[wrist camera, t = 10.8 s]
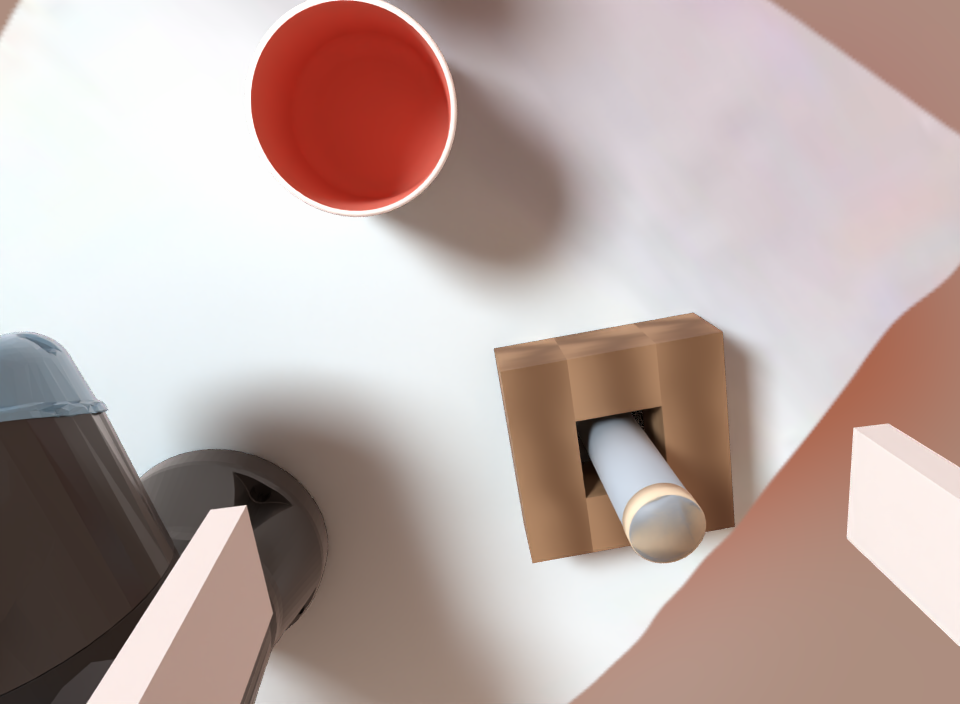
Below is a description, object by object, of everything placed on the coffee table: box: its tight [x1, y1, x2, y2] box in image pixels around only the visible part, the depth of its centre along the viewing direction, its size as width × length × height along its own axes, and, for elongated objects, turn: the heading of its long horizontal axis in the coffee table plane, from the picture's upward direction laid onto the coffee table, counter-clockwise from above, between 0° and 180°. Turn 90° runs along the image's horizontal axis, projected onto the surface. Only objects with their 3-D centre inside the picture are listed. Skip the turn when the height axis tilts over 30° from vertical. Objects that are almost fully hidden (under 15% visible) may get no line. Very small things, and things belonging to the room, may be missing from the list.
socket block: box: [494, 313, 735, 563], centre depth 45 cm, size 14×14×5 cm
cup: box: [245, 0, 457, 217], centre depth 36 cm, size 10×10×10 cm
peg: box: [577, 412, 706, 563], centre depth 41 cm, size 4×4×14 cm
